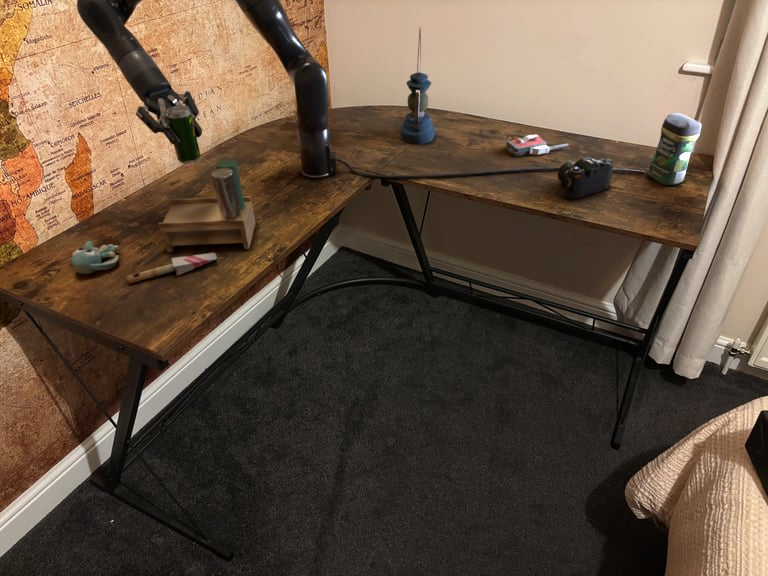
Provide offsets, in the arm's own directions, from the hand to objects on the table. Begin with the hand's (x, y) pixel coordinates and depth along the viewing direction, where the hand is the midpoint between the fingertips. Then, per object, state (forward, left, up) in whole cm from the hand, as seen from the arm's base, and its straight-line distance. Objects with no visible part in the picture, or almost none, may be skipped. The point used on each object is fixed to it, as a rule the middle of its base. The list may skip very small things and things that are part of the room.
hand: (189, 139), depth 127 cm
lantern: (-59, -56, -25) cm, 85 cm away
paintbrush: (+6, +17, -25) cm, 31 cm away
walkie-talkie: (-96, -43, -25) cm, 108 cm away
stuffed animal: (+24, +12, -25) cm, 37 cm away
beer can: (+1, -1, -6) cm, 6 cm away
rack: (-1, +2, -25) cm, 25 cm away
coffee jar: (-128, -20, -25) cm, 132 cm away
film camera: (-101, -16, -25) cm, 105 cm away
